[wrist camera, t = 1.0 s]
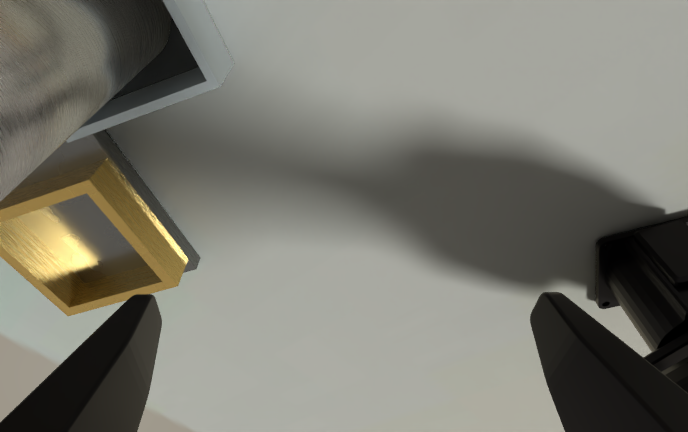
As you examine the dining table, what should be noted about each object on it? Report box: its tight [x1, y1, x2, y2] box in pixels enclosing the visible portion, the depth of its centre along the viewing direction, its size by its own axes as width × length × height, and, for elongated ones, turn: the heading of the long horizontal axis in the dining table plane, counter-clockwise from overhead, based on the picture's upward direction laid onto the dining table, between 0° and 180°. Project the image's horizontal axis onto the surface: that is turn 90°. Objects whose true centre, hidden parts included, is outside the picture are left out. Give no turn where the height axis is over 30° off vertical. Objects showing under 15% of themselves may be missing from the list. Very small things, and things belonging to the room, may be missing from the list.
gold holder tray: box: [0, 130, 200, 316], centre depth 22 cm, size 18×10×3 cm, turn 19°
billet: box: [0, 0, 171, 202], centre depth 13 cm, size 5×5×13 cm
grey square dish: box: [66, 0, 234, 143], centre depth 17 cm, size 8×8×3 cm
